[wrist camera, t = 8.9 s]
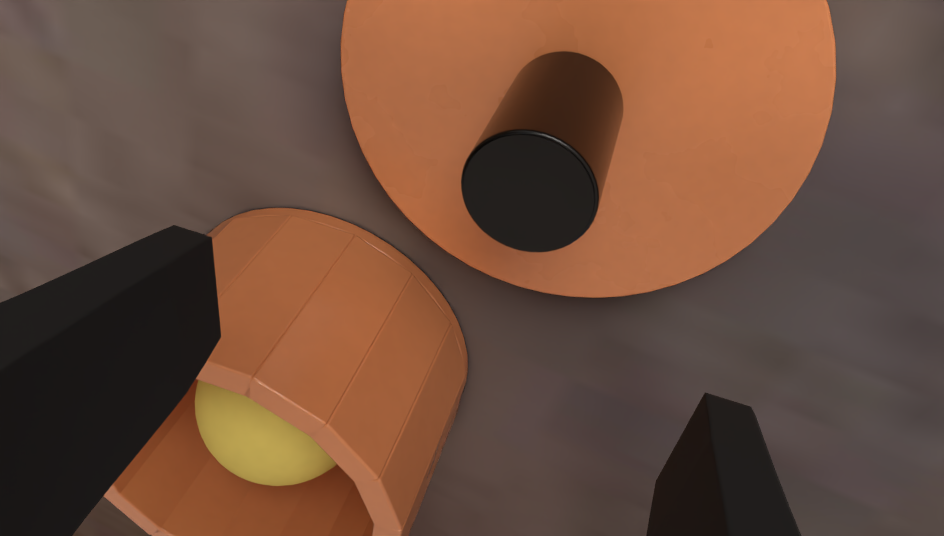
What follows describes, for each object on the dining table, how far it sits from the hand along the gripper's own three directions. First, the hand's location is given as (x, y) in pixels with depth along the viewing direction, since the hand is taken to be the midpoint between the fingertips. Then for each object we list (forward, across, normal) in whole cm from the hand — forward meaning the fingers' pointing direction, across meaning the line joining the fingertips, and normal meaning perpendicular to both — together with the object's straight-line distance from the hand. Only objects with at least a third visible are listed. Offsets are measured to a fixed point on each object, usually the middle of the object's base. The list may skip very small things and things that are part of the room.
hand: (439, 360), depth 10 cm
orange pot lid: (+9, 0, 0) cm, 9 cm away
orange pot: (+9, +6, +11) cm, 15 cm away
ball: (+6, +6, +10) cm, 13 cm away
